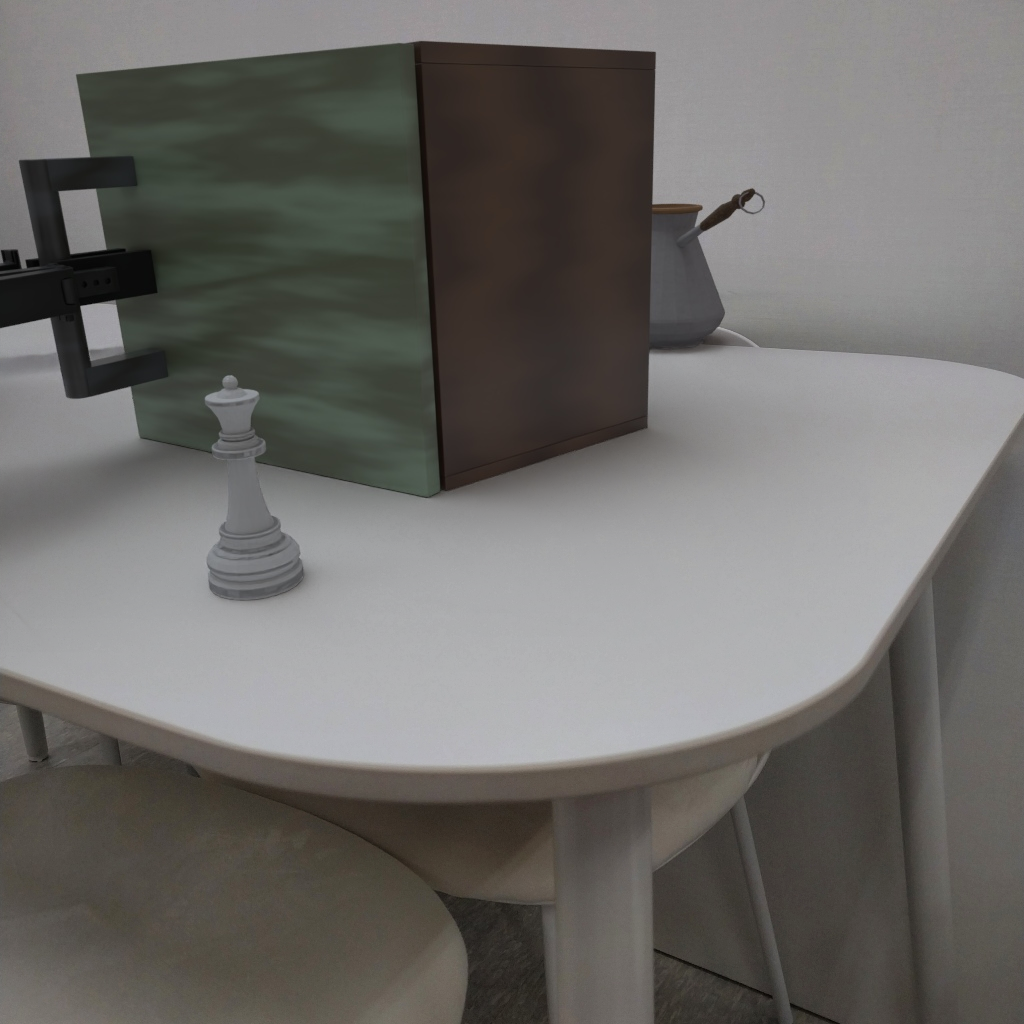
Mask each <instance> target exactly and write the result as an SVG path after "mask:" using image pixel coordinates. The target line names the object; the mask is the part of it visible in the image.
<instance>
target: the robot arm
mask: <svg viewBox="0 0 1024 1024" xmlns="http://www.w3.org/2000/svg"><path fill="white" fill-rule="evenodd" d="M70 254H71V259H65V260H57V261H50V263H49V264H48V265H47V266H41V267H40V265H39V260H38V257H35V258H28V259H24V261H25V268H23V267H22V262H21V258H20V253H19V248H18V249H17V248H10V249H0V255H1V259H2V262H0V329H3V328H9V327H13V326H19V325H24V324H28V323H33V322H37V321H43V320H46V319H50V318H52V317H57V316H58V319H59V320H61V321H66V322H67V321H68V322H72V321H75V318H74V314H75V313H79V312H80V311H81V312H82V307H83V306H89V305H90V306H91V305H95V304H102V303H108V302H113V301H115V300H120V299H126V298H131V297H137V296H143V295H149V294H155V293H158V291H157V285H156V279H155V273H154V266H153V260H152V254H151V250H144V249H143V250H135V251H127V252H126V249H125V248H116V249H101V250H92V251H83V252H76V253H70ZM80 307H81V308H80Z"/></svg>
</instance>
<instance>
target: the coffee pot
mask: <svg viewBox="0 0 1024 1024" xmlns="http://www.w3.org/2000/svg"><path fill="white" fill-rule="evenodd" d="M755 195H756V196H758V197H760V199H761V201H762V207H761V208H760V209H758V210H757V211H755V212H753V211H749V210H747V209H746V208H745V206H746V203H748V202H750V201H751V200H752V198H753V197H754V196H755ZM765 204H766V200H765V198H764V196H763V195H762V194H760V193H759V192H758V191H756V190H755V188H752V187H751V188H748V189H746V190H743V191H742V192H741V194H740V193H737V194H734V195H733V196H732V197H731V200H730V201H727V202H724V203H722V204H720V205H719V206H718V207H717V208H716V209H715V210H713V211H712V212H711V213H710V214H709V215H708V216H707V217H705V218H704V219H703V220H702V221H701V222H700V223H698V225H696V224H697V220H698V215H699V212H701V211H702V210H703V208H704V207H703V205H702V204H695V203H654V204H653V203H652V248H651V292H650V337H649V349H658V350H659V349H660V350H661V349H664V350H665V349H669V350H670V349H685V348H692V347H696V346H699V345H701V344H703V343H705V338H706V337H708V336H710V335H712V334H713V333H714V332H715V331H716V330H717V329H718V328H719V327H720V325H721V324H722V322H723V319H724V317H725V316H726V311H725V307H724V304H723V302H722V299H721V296H720V295H719V290H718V289H717V286H716V283H715V281H714V277H713V275H712V272H711V269H710V267H709V264H708V261H707V259H706V255H705V253H704V250H703V248H702V245H701V243H700V240H699V236H700V235H702V234H703V233H704V232H707V231H708V230H711V229H712V228H714V227H715V226H717V225H719V224H720V223H722V222H725V221H727V219H729V218H731V216H732V215H733V214H734V213H735V212H736V211H737V210H741V211H743V212H744V213H746V214H749V215H757V214H758V213H760V212H761V211H762V210H763V209H765Z"/></svg>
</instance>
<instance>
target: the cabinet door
mask: <svg viewBox="0 0 1024 1024" xmlns="http://www.w3.org/2000/svg"><path fill="white" fill-rule="evenodd" d="M406 43H407V42H392V43H384V44H383V43H382V44H371V45H362V46H353V47H351V46H350V47H343V48H341V47H340V48H331V49H321V50H311V51H310V50H309V51H299V52H290V53H289V52H288V53H279V54H270V55H259V56H250V57H249V56H248V57H237V58H229V59H228V58H227V59H218V60H208V61H199V62H188V63H187V62H186V63H177V64H166V65H156V66H147V67H146V66H145V67H136V68H126V69H124V68H123V69H115V70H106V71H96V72H84V73H76V74H75V78H76V84H77V90H78V96H79V102H80V106H81V107H80V108H81V113H82V118H83V123H84V129H85V134H86V141H87V146H88V152H89V156H79V157H55V158H53V157H52V158H27V159H25V158H24V159H19V160H18V164H19V171H20V174H21V179H22V184H23V189H24V195H25V199H26V205H27V210H28V214H29V221H30V225H31V229H32V234H33V239H34V245H35V249H36V254H37V258H38V260H39V265H40V267H41V266H47V265H48V264H49V263H50V261H57V260H65V259H71V254H72V253H71V249H70V244H69V239H68V238H69V237H68V234H67V228H66V223H65V218H64V212H63V208H62V201H61V197H60V192H71V191H85V190H86V191H87V190H95V192H96V198H97V203H98V209H99V210H98V211H99V214H100V220H101V227H102V231H103V237H104V243H105V248H106V249H105V250H107V249H116V248H125V249H126V252H127V251H135V250H143V249H144V250H151V254H152V260H153V266H154V273H155V279H156V285H157V291H158V293H155V294H149V295H143V296H137V297H131V298H126V299H120V300H114V301H115V305H116V310H117V311H116V312H117V317H118V323H119V328H120V334H121V340H122V345H123V346H122V347H123V351H124V353H120V354H116V355H115V354H114V355H111V356H106V357H102V358H98V359H92V360H91V355H90V350H89V344H88V340H87V333H86V328H85V324H84V319H83V313H82V310H81V311H80V312H79V313H75V314H74V318H75V321H72V322H68V321H67V322H66V321H61V320H59V319H58V316H57V317H52V318H49V319H50V324H51V329H52V334H53V338H54V344H55V349H56V354H57V358H58V364H59V369H60V373H61V378H62V384H63V390H64V393H65V394H64V395H65V397H66V398H67V399H70V400H79V399H80V400H81V399H87V398H91V397H95V396H99V395H100V396H101V395H103V394H107V393H111V392H115V391H120V390H123V389H127V388H130V391H131V398H132V402H133V408H134V415H135V419H136V425H137V431H138V437H139V438H142V439H146V440H151V441H156V442H161V443H166V444H171V445H174V446H175V445H176V446H180V447H185V448H191V449H194V450H200V451H204V452H209V453H212V446H213V444H215V443H216V442H218V440H219V439H220V437H219V432H220V431H221V430H222V427H221V424H220V421H219V419H218V417H217V416H216V415H215V414H214V412H213V411H212V410H211V409H210V408H209V407H208V406H207V405H206V404H205V397H206V396H207V395H209V394H212V393H215V392H219V391H221V390H222V389H224V388H225V387H224V386H223V378H225V377H226V376H228V375H232V376H234V377H235V378H236V379H237V382H238V385H237V387H238V388H242V389H248V390H254V391H257V392H258V393H259V397H260V399H259V400H258V402H257V404H256V405H255V407H254V409H253V412H252V414H251V427H252V428H254V430H255V434H254V435H256V436H257V437H258V438H262V439H263V440H265V443H266V451H265V452H264V453H263V454H261V455H259V456H256V457H254V458H255V463H261V464H266V465H271V466H275V467H282V468H285V469H290V470H295V471H301V472H304V473H310V474H314V475H318V476H324V477H329V478H332V479H339V480H344V481H347V482H353V483H358V484H362V485H366V486H371V487H376V488H380V489H381V488H382V489H387V490H391V491H396V492H400V493H405V494H409V495H415V496H420V497H425V498H431V497H432V496H433V495H436V494H438V493H440V492H441V490H440V477H439V460H438V444H437V427H436V410H435V393H434V376H433V360H432V343H431V326H430V309H429V292H428V276H427V259H426V242H425V225H424V208H423V191H422V175H421V158H420V141H419V124H418V107H417V91H416V74H415V57H414V44H406ZM80 308H81V309H82V306H80Z"/></svg>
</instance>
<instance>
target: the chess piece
mask: <svg viewBox="0 0 1024 1024" xmlns="http://www.w3.org/2000/svg"><path fill="white" fill-rule="evenodd" d="M237 385H238V382H237V379H236V378H235V377H234V376H232V375H228V376H226V377H225V378H223V386H224V387H225V388H224V389H222V390H221V391H219V392H215V393H212V394H209V395H207V396H206V397H205V404H206V405H207V406H208V407H209V408H210V409H211V410H212V411H213V412H214V414H215V415H216V416H217V417H218V419H219V421H220V424H221V427H222V430H221V431H220V432H219V437H220V439H219V440H218V442H216V443H215V444H213V446H212V452H211V453H212V454H211V455H212V457H214V458H215V459H217V460H222V461H226V466H227V481H228V503H227V513H226V520H225V521H224V522H222V523H221V524H220V525H219V527H218V534H219V536H220V539H219V540H218V541H217V542H216V543H215V544H214V545H213V546H212V547H211V548H210V550H209V552H208V554H207V556H206V567H207V568H208V569H209V571H208V573H207V580H208V586H209V589H210V591H211V592H212V593H213V594H214V595H216V596H217V597H220V598H224V599H227V600H233V601H234V600H235V601H254V600H260V599H261V600H263V599H267V598H271V597H274V596H275V597H276V596H278V595H281V594H283V593H286V592H289V591H290V590H292V589H294V588H295V587H296V586H297V585H299V584H300V583H301V582H302V581H303V578H304V576H305V571H304V564H303V559H301V557H300V556H301V548H300V544H299V543H298V542H297V540H295V539H294V538H293V536H291V535H289V534H288V533H286V532H283V531H282V530H281V529H282V524H281V519H280V518H279V517H277V516H275V515H273V514H271V512H270V510H269V508H268V505H267V503H266V500H265V497H264V494H263V491H262V486H261V483H260V479H259V474H258V469H257V468H258V467H257V462H256V461H255V458H254V457H256V456H259V455H261V454H263V453H264V452H265V451H266V443H265V440H263V439H262V438H258V437H257V436H256V435H254V434H255V430H254V428H252V427H251V414H252V412H253V409H254V407H255V405H256V404H257V402H258V400H259V399H260V397H259V393H258V392H257V391H254V390H248V389H242V388H238V387H237Z"/></svg>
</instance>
